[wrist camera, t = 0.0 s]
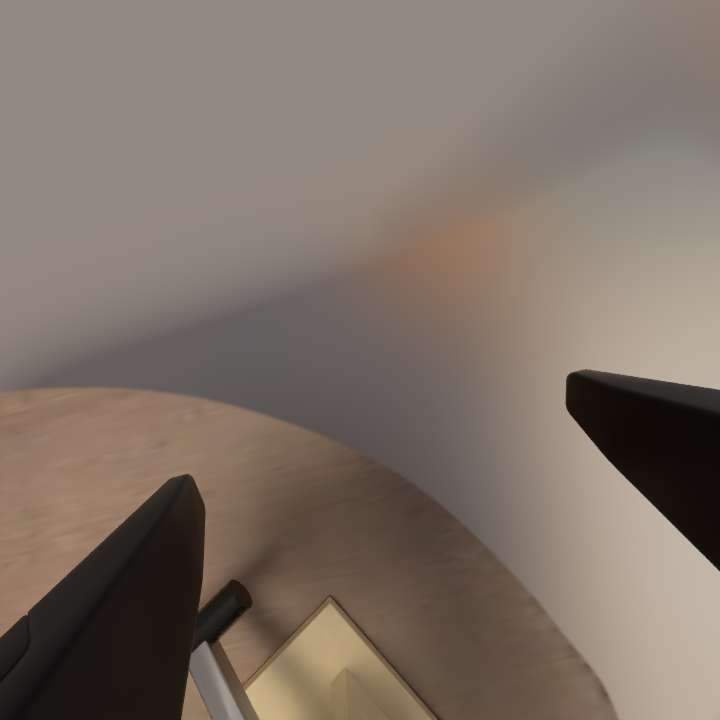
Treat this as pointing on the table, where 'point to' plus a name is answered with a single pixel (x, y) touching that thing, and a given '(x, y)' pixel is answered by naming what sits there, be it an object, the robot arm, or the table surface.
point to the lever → (220, 655)
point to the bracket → (331, 676)
